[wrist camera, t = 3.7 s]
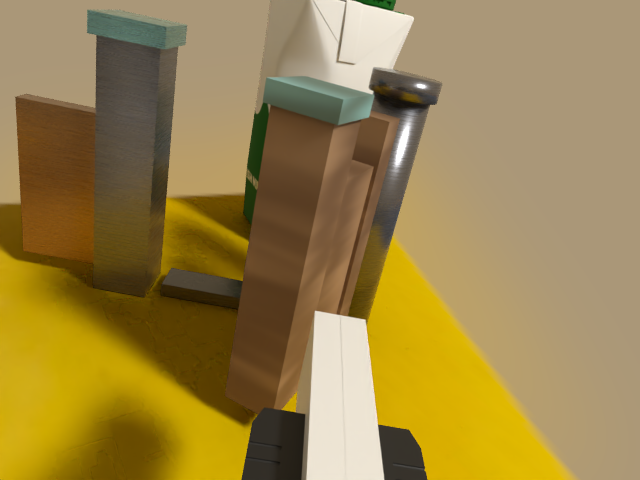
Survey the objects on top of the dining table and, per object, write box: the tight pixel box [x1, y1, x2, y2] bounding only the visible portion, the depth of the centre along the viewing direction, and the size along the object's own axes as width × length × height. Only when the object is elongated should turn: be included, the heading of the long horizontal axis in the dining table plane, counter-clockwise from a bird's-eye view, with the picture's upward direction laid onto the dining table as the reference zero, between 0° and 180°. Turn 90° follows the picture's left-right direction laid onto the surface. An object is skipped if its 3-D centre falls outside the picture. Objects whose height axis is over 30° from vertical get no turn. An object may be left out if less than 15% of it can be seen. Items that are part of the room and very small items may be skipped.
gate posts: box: [15, 10, 442, 325], centre depth 28 cm, size 21×4×15 cm, turn 89°
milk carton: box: [243, 0, 414, 225], centre depth 38 cm, size 9×9×20 cm
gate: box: [225, 76, 400, 414], centre depth 23 cm, size 9×3×14 cm, turn 154°
